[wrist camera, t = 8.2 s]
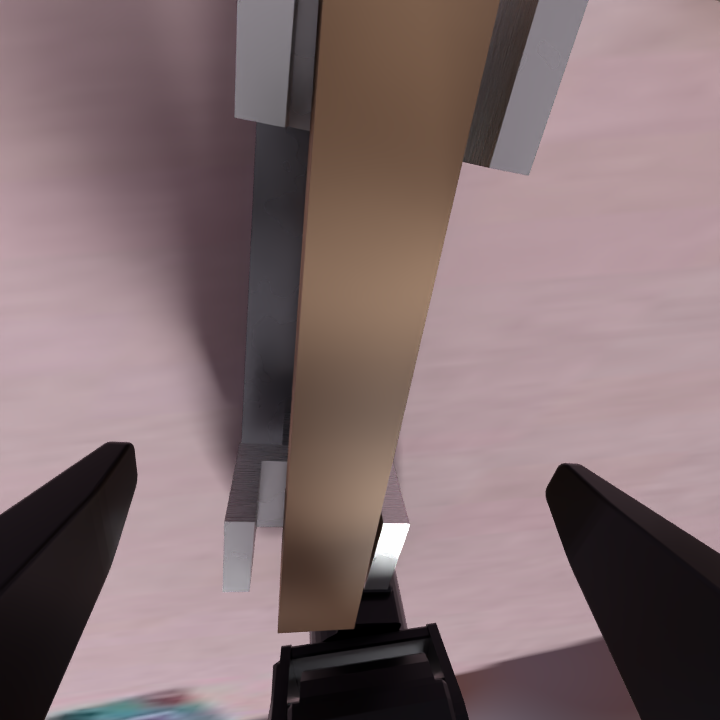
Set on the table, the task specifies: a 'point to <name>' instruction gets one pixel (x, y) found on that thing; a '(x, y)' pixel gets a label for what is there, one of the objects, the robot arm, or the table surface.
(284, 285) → the bracket stand
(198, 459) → the table surface
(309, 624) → the rail
